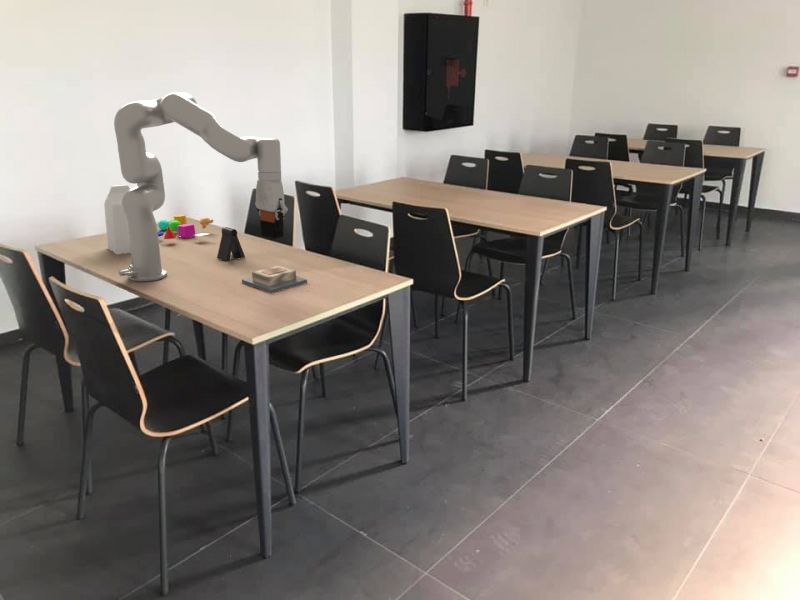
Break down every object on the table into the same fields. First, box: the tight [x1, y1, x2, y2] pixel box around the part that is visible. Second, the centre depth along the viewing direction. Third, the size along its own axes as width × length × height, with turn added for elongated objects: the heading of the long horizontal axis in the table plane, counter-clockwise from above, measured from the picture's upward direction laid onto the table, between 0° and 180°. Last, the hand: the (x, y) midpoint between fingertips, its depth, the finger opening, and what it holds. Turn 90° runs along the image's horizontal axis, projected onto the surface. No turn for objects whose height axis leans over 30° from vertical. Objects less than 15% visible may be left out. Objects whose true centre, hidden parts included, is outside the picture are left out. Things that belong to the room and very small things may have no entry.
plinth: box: [251, 264, 297, 286], centre depth 220 cm, size 12×9×3 cm
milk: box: [103, 184, 131, 255], centre depth 253 cm, size 12×12×26 cm
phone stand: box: [216, 226, 246, 262], centre depth 247 cm, size 9×6×12 cm, turn 140°
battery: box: [259, 210, 284, 240], centre depth 214 cm, size 4×7×10 cm, turn 56°
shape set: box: [157, 214, 214, 240], centre depth 279 cm, size 29×35×7 cm
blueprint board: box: [241, 275, 308, 294], centre depth 221 cm, size 16×16×1 cm
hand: (271, 228), depth 214 cm, fingers closed on battery, 7 cm apart
